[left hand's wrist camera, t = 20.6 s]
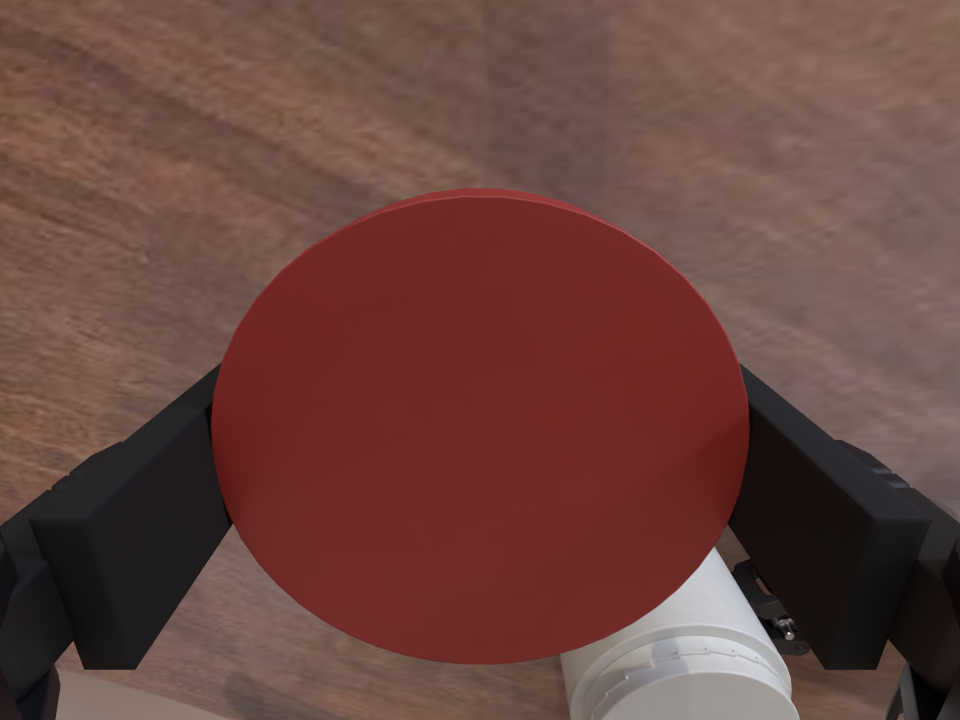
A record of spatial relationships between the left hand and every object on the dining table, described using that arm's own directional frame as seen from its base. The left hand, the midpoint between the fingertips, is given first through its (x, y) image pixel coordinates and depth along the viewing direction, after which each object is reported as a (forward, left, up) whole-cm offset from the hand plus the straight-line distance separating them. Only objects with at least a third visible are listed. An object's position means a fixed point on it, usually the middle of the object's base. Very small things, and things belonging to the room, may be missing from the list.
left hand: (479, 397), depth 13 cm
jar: (+14, -12, -19) cm, 26 cm away
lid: (0, 0, +3) cm, 3 cm away
